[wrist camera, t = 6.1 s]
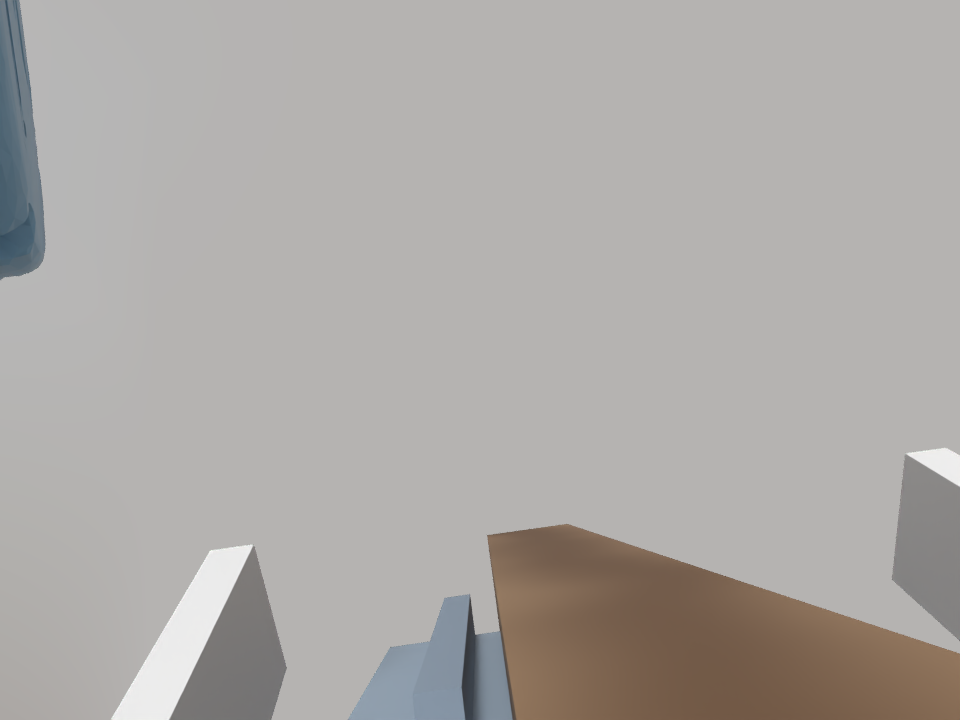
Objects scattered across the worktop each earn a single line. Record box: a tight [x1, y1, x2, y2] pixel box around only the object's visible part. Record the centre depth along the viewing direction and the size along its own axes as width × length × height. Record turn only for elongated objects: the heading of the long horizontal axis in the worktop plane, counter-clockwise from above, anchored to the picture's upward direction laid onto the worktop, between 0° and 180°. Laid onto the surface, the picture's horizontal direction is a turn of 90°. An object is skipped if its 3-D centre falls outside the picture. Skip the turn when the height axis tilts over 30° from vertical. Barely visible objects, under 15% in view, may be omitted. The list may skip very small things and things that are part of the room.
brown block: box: [487, 524, 960, 720], centre depth 15 cm, size 4×24×4 cm, turn 0°
